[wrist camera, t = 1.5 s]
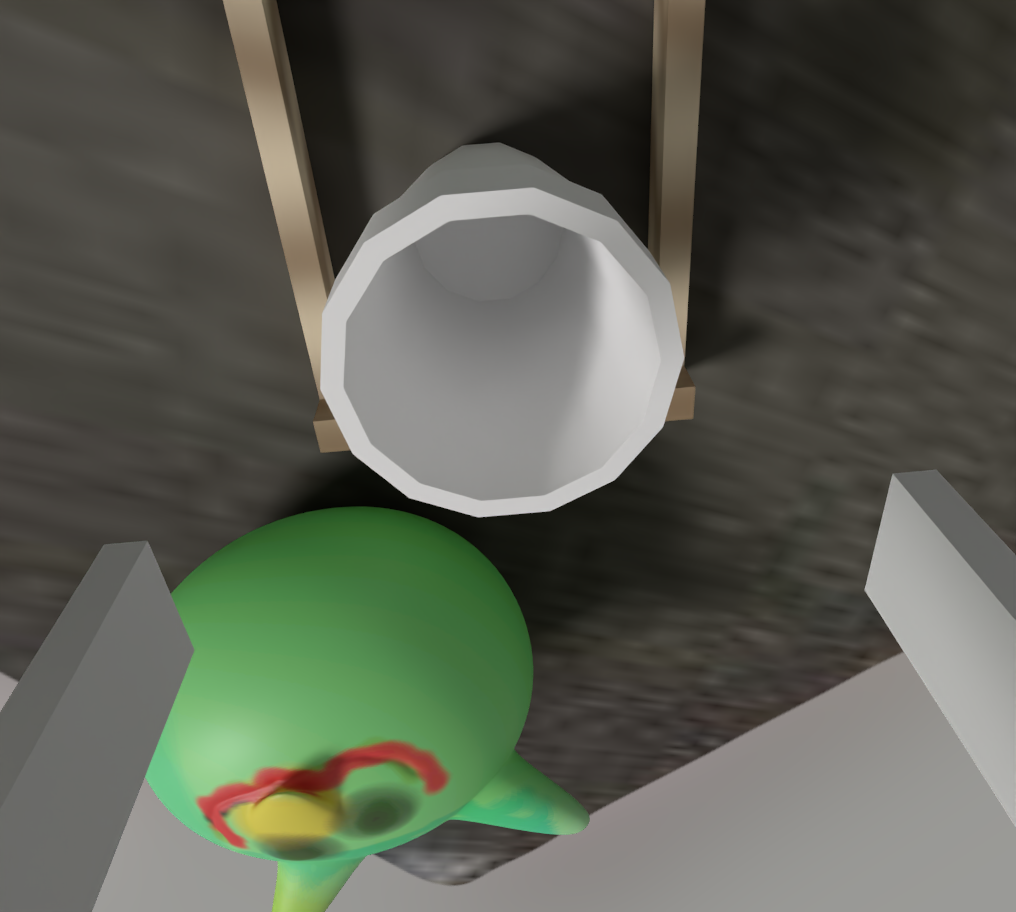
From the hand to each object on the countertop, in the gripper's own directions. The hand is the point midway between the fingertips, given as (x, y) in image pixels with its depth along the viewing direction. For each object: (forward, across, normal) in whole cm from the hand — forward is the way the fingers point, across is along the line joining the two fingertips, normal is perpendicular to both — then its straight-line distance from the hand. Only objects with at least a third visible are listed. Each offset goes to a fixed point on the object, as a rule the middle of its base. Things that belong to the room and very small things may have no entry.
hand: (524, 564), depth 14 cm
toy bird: (+21, -9, -18) cm, 29 cm away
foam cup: (+20, 0, 0) cm, 20 cm away
